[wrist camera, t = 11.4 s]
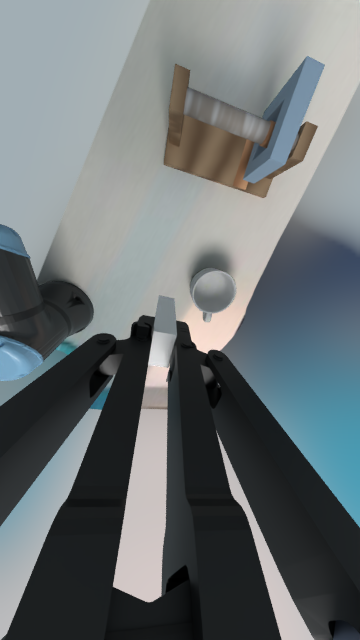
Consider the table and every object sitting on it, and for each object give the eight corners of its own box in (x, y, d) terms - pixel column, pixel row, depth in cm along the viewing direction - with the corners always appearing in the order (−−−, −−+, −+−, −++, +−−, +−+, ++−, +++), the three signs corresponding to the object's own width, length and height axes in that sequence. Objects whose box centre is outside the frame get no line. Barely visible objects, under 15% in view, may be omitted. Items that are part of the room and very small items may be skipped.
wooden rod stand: (163, 164, 33) (161, 136, 24) (174, 92, 29) (176, 22, 19) (263, 197, 37) (295, 184, 27) (286, 138, 32) (333, 98, 23)
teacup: (196, 259, 42) (201, 264, 35) (233, 271, 44) (245, 278, 37) (180, 307, 48) (182, 319, 41) (213, 315, 50) (220, 328, 43)
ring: (242, 179, 31) (269, 158, 23) (264, 111, 27) (307, 55, 19) (254, 183, 32) (285, 164, 23) (277, 117, 28) (324, 64, 19)
